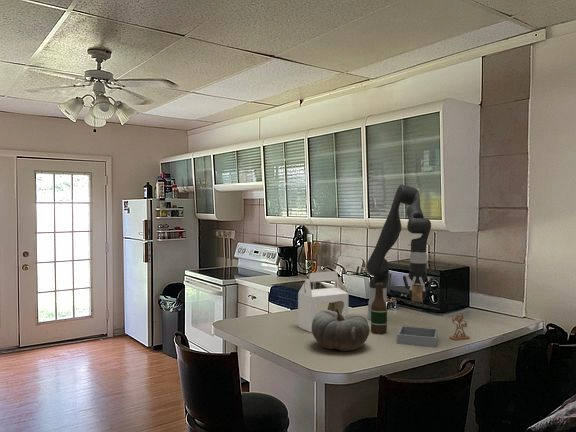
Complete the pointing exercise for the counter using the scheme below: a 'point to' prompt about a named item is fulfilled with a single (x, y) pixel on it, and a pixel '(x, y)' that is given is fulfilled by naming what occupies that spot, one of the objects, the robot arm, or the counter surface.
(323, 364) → the counter surface
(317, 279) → the gable box
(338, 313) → the gourd
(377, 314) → the beer bottle
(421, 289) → the walnut block
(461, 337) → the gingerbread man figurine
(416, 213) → the robot arm
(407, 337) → the grey bin
